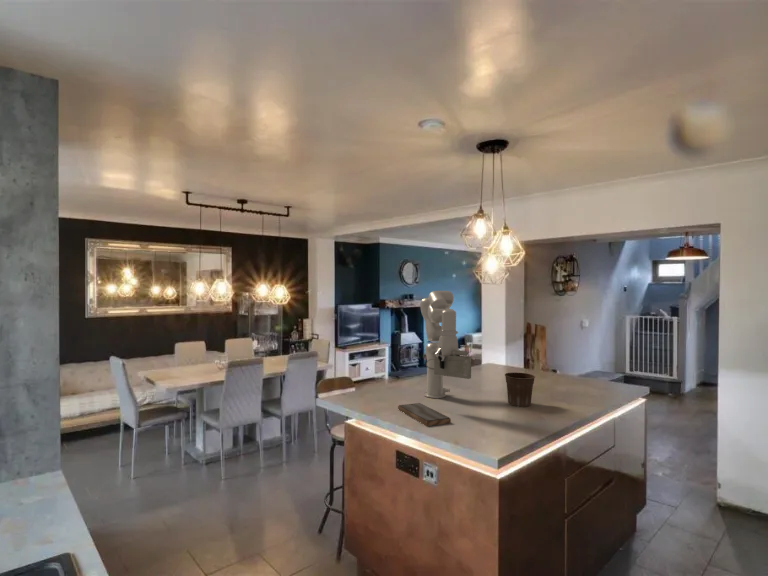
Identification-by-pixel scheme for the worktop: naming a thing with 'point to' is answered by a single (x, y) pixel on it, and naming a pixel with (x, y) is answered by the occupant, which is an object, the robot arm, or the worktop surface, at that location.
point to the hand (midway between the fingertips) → (448, 367)
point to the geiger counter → (453, 365)
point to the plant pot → (519, 388)
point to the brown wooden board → (424, 414)
